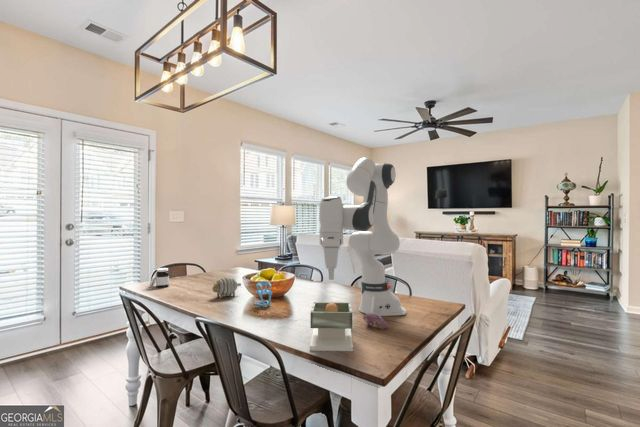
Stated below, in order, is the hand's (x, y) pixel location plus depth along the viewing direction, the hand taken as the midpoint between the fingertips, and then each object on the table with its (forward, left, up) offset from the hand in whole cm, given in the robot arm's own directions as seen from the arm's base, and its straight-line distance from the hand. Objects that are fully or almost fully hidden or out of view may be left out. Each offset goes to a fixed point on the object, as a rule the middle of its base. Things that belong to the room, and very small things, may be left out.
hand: (331, 276), depth 123 cm
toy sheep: (+61, -64, -25) cm, 92 cm away
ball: (0, -5, -14) cm, 14 cm away
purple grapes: (-18, -17, -25) cm, 35 cm away
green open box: (0, -7, -18) cm, 19 cm away
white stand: (0, -8, -24) cm, 25 cm away
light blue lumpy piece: (+36, -48, -25) cm, 65 cm away
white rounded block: (+114, -88, -25) cm, 146 cm away
